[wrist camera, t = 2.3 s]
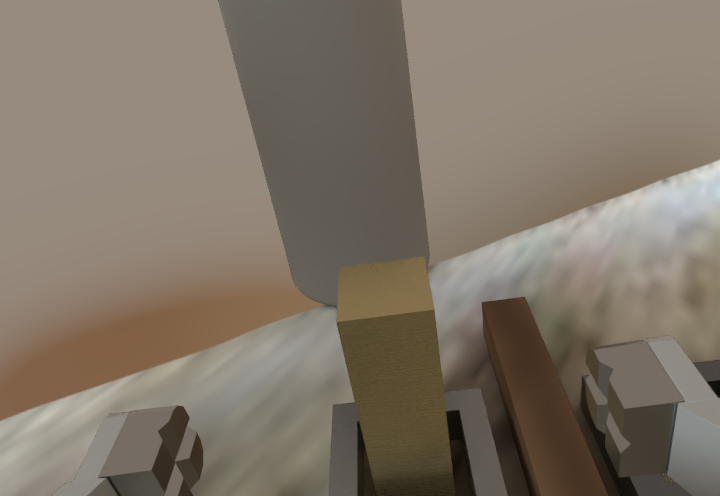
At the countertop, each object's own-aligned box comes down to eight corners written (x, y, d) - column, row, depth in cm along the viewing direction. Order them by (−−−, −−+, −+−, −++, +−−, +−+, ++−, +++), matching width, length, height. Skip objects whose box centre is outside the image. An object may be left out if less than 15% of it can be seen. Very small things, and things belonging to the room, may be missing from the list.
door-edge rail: (586, 689, 23) (590, 654, 22) (483, 334, 42) (481, 302, 40) (662, 684, 23) (672, 647, 21) (525, 329, 42) (524, 296, 40)
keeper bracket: (642, 547, 27) (648, 516, 26) (580, 405, 35) (582, 375, 34) (839, 529, 27) (855, 496, 25) (732, 388, 34) (740, 357, 33)
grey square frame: (335, 575, 29) (326, 547, 27) (340, 432, 36) (333, 404, 35) (516, 558, 28) (516, 528, 27) (482, 416, 36) (480, 387, 34)
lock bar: (383, 524, 31) (336, 322, 23) (380, 461, 34) (339, 267, 27) (457, 517, 30) (434, 309, 23) (447, 454, 34) (424, 256, 26)
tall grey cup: (431, 306, 46) (391, -38, 33) (281, 316, 48) (187, -4, 35) (429, 227, 56) (398, -56, 43) (306, 238, 58) (242, -30, 45)
